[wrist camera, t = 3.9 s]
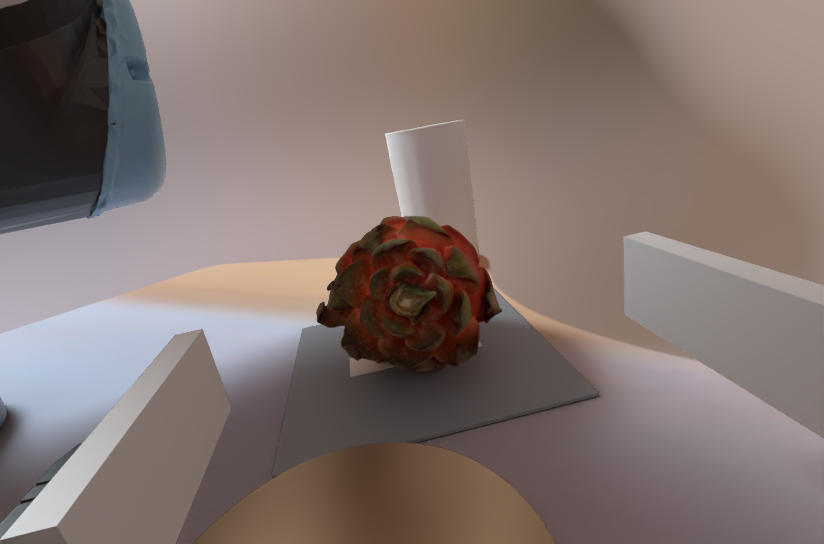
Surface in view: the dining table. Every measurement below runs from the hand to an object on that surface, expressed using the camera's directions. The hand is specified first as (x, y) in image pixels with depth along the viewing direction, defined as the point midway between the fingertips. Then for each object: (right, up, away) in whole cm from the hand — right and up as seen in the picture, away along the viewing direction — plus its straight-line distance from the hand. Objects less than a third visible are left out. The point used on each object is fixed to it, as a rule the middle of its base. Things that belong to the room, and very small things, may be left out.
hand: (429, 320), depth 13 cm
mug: (+2, +3, +28) cm, 28 cm away
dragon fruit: (0, -3, +11) cm, 12 cm away
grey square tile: (0, -3, +11) cm, 12 cm away
